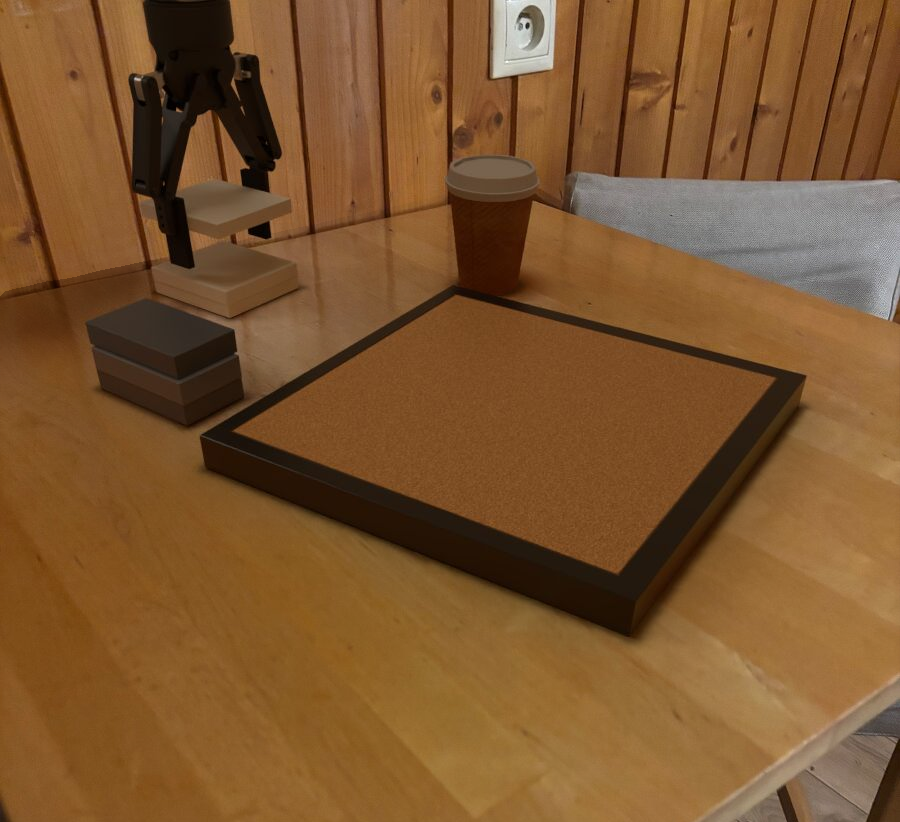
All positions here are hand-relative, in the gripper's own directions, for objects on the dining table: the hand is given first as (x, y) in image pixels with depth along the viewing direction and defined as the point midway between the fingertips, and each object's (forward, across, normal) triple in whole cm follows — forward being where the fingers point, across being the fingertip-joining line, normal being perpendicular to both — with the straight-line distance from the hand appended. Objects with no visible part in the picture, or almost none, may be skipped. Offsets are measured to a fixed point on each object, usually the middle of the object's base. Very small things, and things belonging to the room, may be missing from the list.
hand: (222, 250), depth 96 cm
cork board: (+4, -7, -41) cm, 42 cm away
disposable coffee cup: (+4, +18, -21) cm, 28 cm away
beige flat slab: (-4, 0, 0) cm, 4 cm away
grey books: (+4, -19, -13) cm, 23 cm away
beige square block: (+4, 0, 0) cm, 4 cm away
